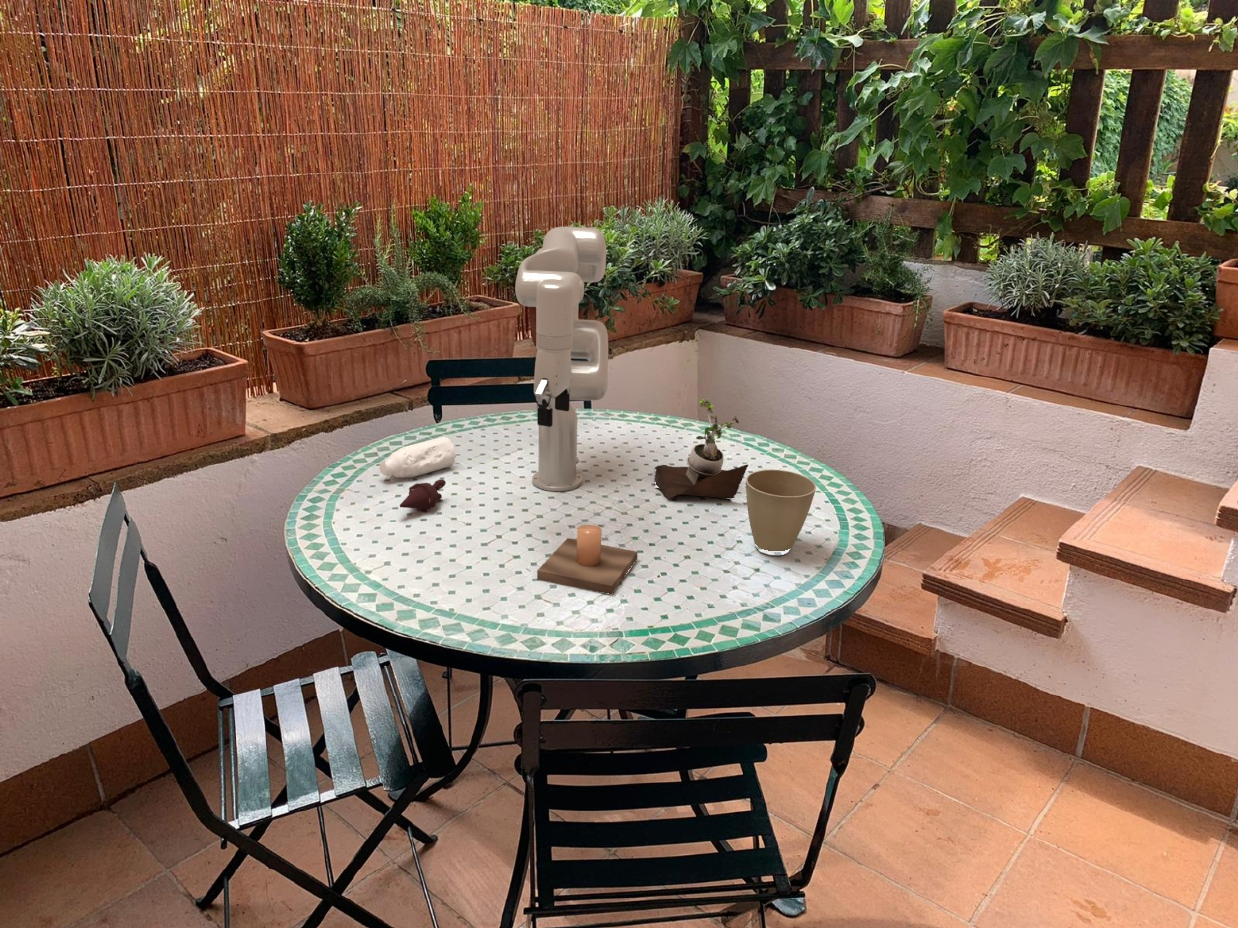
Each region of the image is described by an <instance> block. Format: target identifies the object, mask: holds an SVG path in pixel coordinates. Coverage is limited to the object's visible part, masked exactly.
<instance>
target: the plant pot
mask: <svg viewBox="0 0 1238 928" xmlns="http://www.w3.org/2000/svg"><path fill="white" fill-rule="evenodd" d="M816 490H817V485H816V483H815V482H814V481H813V480H812V479H810V478H809V477H807V476H805V475H803V474H800V473H796V472H793V471H789V470H782V469H761V470H757V471H754V472H751V473H749V474H748V475H746V477H745V493H746V505H747V506H746V507H747V513H748V520H749V525H750V531H751V535H752V539H753V543H754V545H755V544H756V545H757V546H758V547H759V548H761V549H764V550H768V551H785V550H788V549H790V548H791V547H792V548H793V546H794V544H795V542H796V541H797V539H798V537H799V535H800V534H801V531H802V528H803V526H804V524H805V523H806V520H807V517H808V514H809V511H810V509H811V506H812V503H813V500H814V496H815V493H816ZM792 548H791V549H792Z"/></svg>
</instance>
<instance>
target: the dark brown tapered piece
mask: <svg viewBox="0 0 1238 928" xmlns="http://www.w3.org/2000/svg"><path fill="white" fill-rule="evenodd" d="M445 480H446V479H438V480H435V481H434V483H433V484H431V483H428V482H422V483H421V482H420V483H419V482H418V483H417V482H416V483H415V484H413V485H411V486H410V487H409V488H408V490H409V491H408V495H407V497H405V498H404V499H403V501H402V502H401V503H400V504H399V507H400V508H402V509H403V508H405V509H406V508H407V509H416V511H417V512H421V513H422V512H423V513H428V512H429V511H430V510H431V509H433V508H434V507H436V505H437V503H438V502H439V501H440V500H441V499H442V498H443V497H442V494H441V493H440V492H439V491H440V490H441V489H443V488H444V486H446V483H447V481H445Z"/></svg>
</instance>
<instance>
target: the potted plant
mask: <svg viewBox="0 0 1238 928" xmlns="http://www.w3.org/2000/svg"><path fill="white" fill-rule="evenodd" d="M698 403H699V405H700V407H701V408H702V407H703V408H706V409H707V416H708V423H709V425H710V426H707V427H705V429H704V436H701V435H698V436H696V437H695V439H696V440H705V442H704V443H699V444H696V445H693V447H692V449H691V450H690V452H689V453H690V454H689V456H688V457H687V459H686V464H687V465H688V466H670V465H667V464H660V465H657V466H655V467H654V471H655V474H654V481H655V482H656V485H657V486H658V487H659V488H660V489H659V491H661V493H662V492H663V493H662V494H664V495H665V496H666V498H667V499H669V498H670V499H671V498H674V497H675V496H685V495H686V496H698V497H709V498H715V497H717V498H716V499H722V498H734V499H735V497H736V495H737V493H738V491H739V487H740V485H741V483H742V481H743V480H744V479H743V478H744V476H745V473H746V471H747V470H748V469H747V468H748V467H749V464H744V465H741V466H739V467H734V468H731V469H728V470H727V469H722V467H723V465H724V453H723V452H722V451H721V449H720V448H718V446H717V444H716V441H715V440H716V439H717V440H718V439H721V437H722V435H723V432H722V430H723V428H725V427H726V428H727V429H729V430H730V429H731V428H732V426H733V424H735V423H737V424H739V419H737V416H734V417H733V418H732V421H731V422H728V421H724V423H725V424H723V423H720V426H719V424H718V420H717V419H718V417H717V415H711V414H714V413H713V410H712V408H714V407H715V406H714V405H712V404H711V400H709V398H706V400H705V398H703V399H699V400H698ZM710 413H711V414H710ZM711 419H713V420H715V421H714V423H713V424H712V421H711ZM715 436H717V437H716V438H715ZM664 495H663V496H664Z"/></svg>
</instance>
